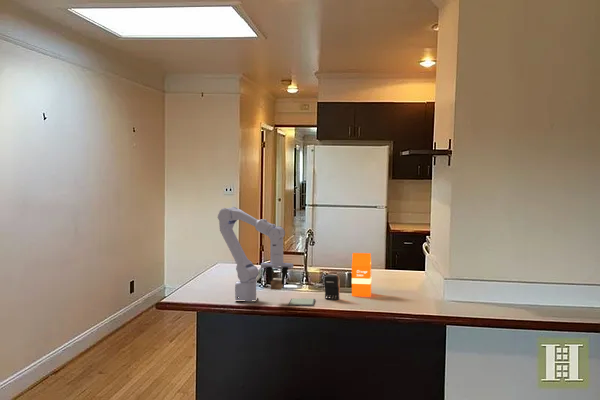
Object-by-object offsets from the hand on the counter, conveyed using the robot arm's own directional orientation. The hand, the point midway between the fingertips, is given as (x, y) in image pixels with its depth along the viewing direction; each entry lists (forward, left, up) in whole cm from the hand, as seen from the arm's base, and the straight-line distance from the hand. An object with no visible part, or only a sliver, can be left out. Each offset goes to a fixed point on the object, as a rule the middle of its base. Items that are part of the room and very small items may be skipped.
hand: (277, 283), depth 234 cm
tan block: (0, 0, -2) cm, 2 cm away
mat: (+11, +1, -9) cm, 14 cm away
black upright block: (+24, +8, -9) cm, 27 cm away
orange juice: (+38, +19, -9) cm, 43 cm away
